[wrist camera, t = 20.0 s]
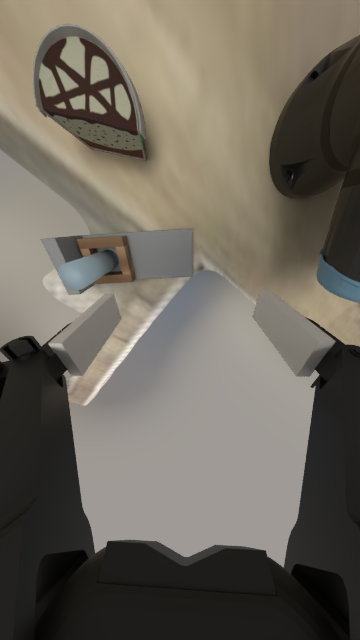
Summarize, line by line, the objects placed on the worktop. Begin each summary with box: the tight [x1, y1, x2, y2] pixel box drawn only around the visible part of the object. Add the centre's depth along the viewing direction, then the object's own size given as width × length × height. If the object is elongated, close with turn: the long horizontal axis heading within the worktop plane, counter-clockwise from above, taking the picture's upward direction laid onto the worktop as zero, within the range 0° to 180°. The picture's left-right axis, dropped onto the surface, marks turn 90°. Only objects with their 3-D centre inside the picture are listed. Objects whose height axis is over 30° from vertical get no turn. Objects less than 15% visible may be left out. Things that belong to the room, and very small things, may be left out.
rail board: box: [41, 229, 193, 295], centre depth 30 cm, size 10×26×9 cm, turn 93°
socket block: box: [76, 236, 136, 284], centre depth 32 cm, size 9×9×3 cm
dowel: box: [58, 250, 119, 290], centre depth 27 cm, size 4×4×14 cm
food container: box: [33, 24, 146, 161], centre depth 19 cm, size 12×6×10 cm, turn 81°
